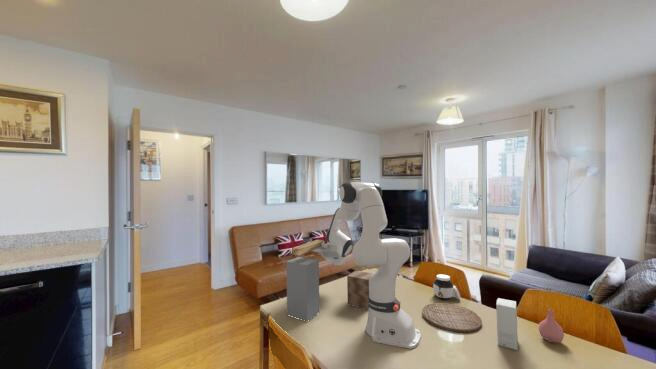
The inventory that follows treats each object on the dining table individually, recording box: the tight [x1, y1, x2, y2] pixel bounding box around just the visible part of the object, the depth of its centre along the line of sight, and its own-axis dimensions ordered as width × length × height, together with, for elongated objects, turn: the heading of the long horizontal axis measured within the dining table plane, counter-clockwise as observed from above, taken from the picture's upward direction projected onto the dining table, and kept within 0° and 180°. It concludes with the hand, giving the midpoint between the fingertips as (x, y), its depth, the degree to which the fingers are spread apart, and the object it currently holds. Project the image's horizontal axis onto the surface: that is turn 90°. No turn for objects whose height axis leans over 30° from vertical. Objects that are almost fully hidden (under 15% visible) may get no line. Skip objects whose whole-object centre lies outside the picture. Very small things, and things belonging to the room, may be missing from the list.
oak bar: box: [291, 239, 325, 257], centre depth 131 cm, size 4×22×3 cm, turn 149°
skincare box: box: [495, 297, 519, 351], centre depth 102 cm, size 8×7×16 cm
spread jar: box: [432, 273, 461, 301], centre depth 143 cm, size 12×11×12 cm
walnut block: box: [346, 270, 373, 311], centre depth 137 cm, size 12×10×15 cm
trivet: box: [421, 302, 483, 334], centre depth 121 cm, size 25×25×2 cm
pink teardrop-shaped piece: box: [538, 308, 565, 343], centre depth 102 cm, size 8×8×12 cm
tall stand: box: [286, 256, 320, 322], centre depth 126 cm, size 12×10×26 cm
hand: (316, 243), depth 137 cm, fingers closed on oak bar, 4 cm apart
